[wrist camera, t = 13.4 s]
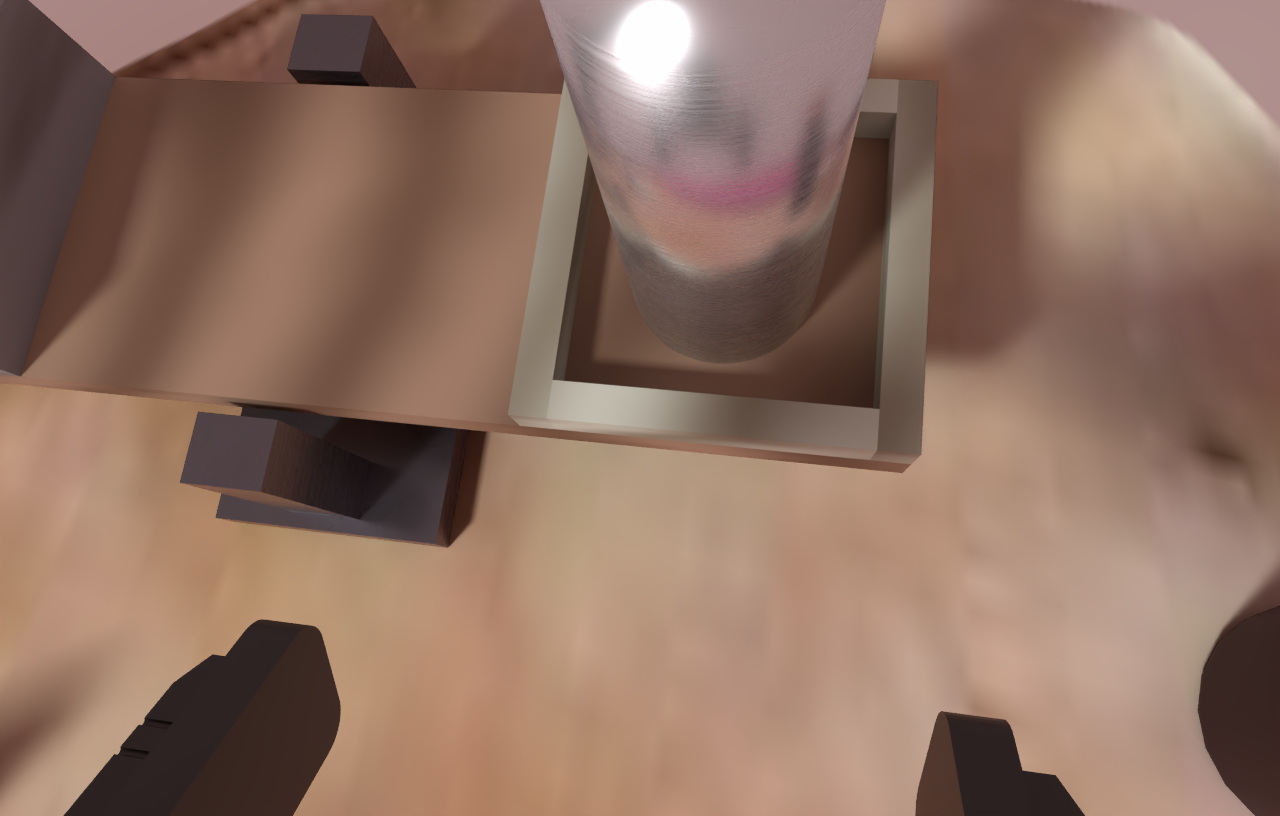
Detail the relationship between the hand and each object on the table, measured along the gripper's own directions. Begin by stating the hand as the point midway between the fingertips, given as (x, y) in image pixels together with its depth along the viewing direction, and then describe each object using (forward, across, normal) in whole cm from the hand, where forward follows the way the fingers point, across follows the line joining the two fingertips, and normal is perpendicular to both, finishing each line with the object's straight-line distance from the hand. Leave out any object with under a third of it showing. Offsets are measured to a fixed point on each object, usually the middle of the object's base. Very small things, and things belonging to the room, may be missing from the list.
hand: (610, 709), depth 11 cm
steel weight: (+14, 0, 0) cm, 14 cm away
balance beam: (+15, +10, 0) cm, 18 cm away
